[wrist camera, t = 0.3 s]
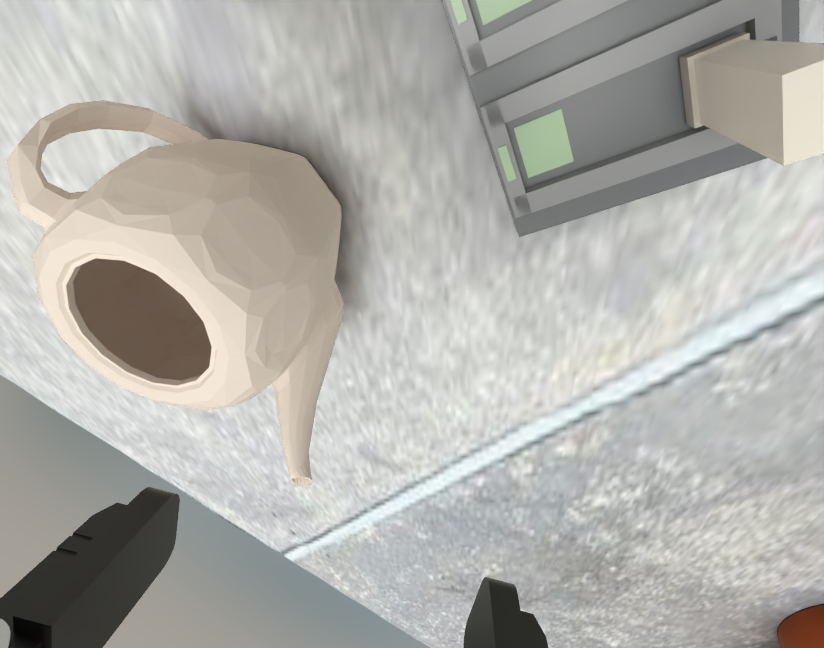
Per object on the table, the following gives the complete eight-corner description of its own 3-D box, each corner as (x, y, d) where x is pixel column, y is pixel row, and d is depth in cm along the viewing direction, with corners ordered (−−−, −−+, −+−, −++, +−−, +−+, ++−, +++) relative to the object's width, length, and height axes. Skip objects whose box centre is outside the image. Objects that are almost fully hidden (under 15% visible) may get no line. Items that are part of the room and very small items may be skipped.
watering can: (322, 359, 48) (234, 513, 33) (129, 143, 38) (-127, 221, 23) (439, 302, 41) (398, 464, 26) (242, 20, 31) (-15, 14, 16)
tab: (678, 56, 26) (772, 73, 17) (737, 32, 25) (873, 35, 16) (686, 124, 28) (775, 173, 19) (742, 104, 27) (865, 145, 17)
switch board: (411, -104, 26) (399, -119, 23) (775, -347, 19) (818, -409, 17) (518, 227, 36) (519, 244, 33) (783, 141, 29) (811, 153, 27)
